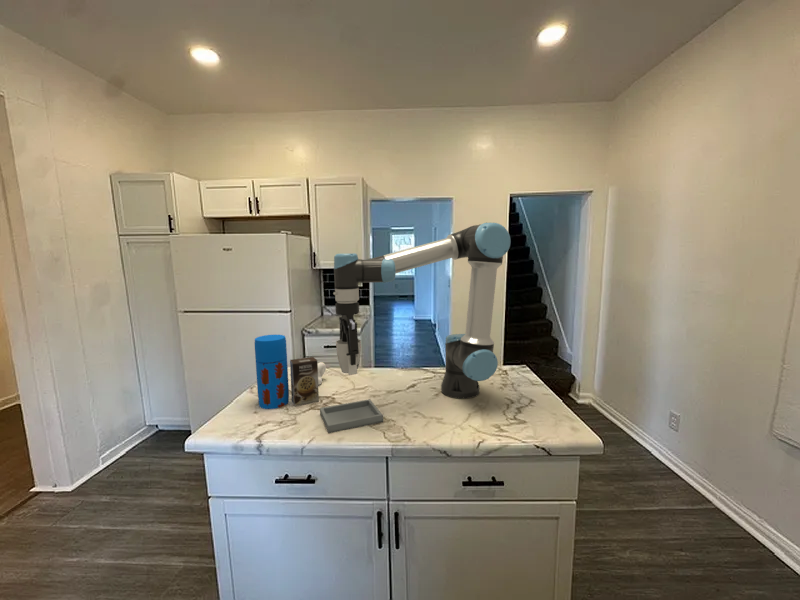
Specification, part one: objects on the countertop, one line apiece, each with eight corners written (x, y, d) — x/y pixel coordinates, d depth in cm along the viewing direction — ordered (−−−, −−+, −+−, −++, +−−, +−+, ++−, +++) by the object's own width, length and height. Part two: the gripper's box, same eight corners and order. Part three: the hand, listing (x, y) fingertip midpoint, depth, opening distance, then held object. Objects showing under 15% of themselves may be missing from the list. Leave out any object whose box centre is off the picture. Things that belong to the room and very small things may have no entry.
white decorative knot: (292, 387, 148) (290, 366, 147) (305, 377, 160) (304, 358, 159) (316, 389, 146) (316, 367, 145) (328, 379, 157) (328, 359, 156)
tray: (370, 405, 129) (369, 399, 128) (383, 422, 116) (383, 414, 116) (320, 414, 122) (319, 408, 122) (328, 433, 109) (328, 425, 109)
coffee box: (294, 407, 129) (292, 364, 127) (291, 400, 134) (289, 359, 132) (319, 401, 133) (317, 360, 131) (315, 395, 138) (313, 355, 136)
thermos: (294, 402, 132) (291, 337, 129) (267, 412, 124) (263, 342, 121) (280, 395, 140) (276, 333, 136) (253, 403, 132) (249, 338, 129)
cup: (357, 375, 112) (356, 344, 111) (333, 374, 114) (331, 343, 112) (364, 367, 120) (364, 338, 119) (342, 366, 122) (341, 338, 120)
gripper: (329, 298, 122) (331, 363, 125) (343, 306, 103) (345, 382, 106) (350, 297, 125) (352, 360, 128) (368, 304, 106) (369, 378, 109)
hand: (349, 370), depth 117 cm, fingers closed on cup, 8 cm apart
